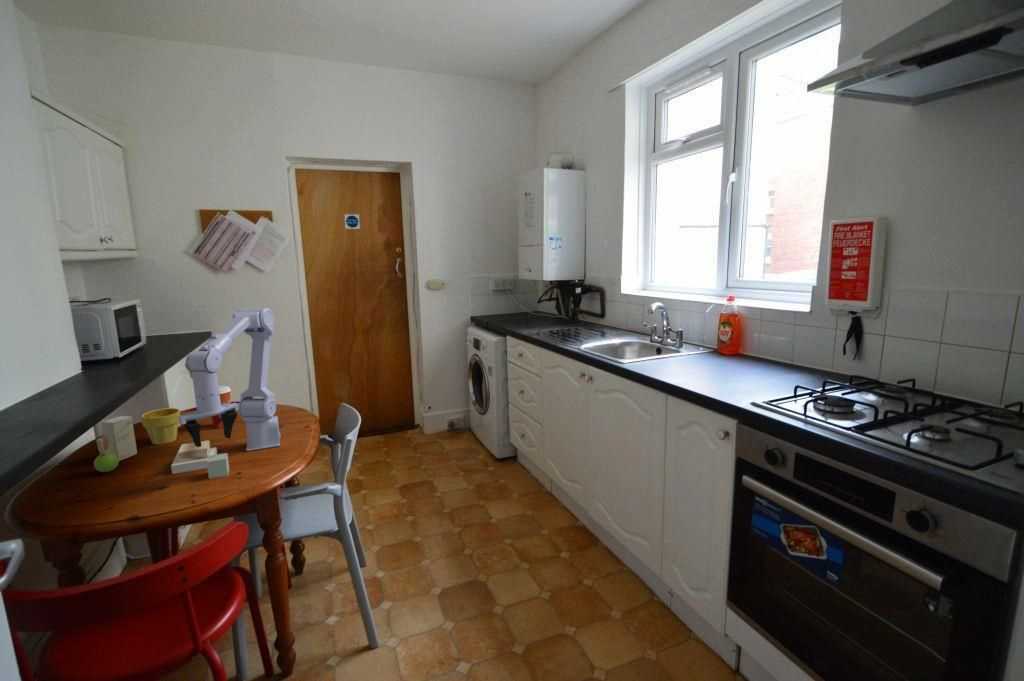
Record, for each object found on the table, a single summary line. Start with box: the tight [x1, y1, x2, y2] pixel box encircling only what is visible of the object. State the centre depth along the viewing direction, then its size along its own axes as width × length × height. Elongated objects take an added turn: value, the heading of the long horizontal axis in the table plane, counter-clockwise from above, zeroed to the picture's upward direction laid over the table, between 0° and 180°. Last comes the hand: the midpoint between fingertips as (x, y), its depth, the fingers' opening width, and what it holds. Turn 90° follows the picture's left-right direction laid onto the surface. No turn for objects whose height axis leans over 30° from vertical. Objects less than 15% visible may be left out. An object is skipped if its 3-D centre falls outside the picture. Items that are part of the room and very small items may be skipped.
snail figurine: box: [93, 434, 120, 473], centre depth 138 cm, size 5×6×12 cm
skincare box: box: [100, 415, 138, 462], centre depth 148 cm, size 6×4×12 cm
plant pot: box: [141, 407, 181, 446], centre depth 161 cm, size 10×10×10 cm
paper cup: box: [211, 385, 232, 429], centre depth 174 cm, size 8×8×14 cm
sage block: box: [207, 452, 230, 480], centre depth 136 cm, size 4×4×5 cm
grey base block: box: [170, 446, 218, 475], centre depth 143 cm, size 10×10×3 cm
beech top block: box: [177, 439, 211, 463], centre depth 143 cm, size 7×7×3 cm
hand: (213, 441), depth 135 cm, fingers open, 7 cm apart
